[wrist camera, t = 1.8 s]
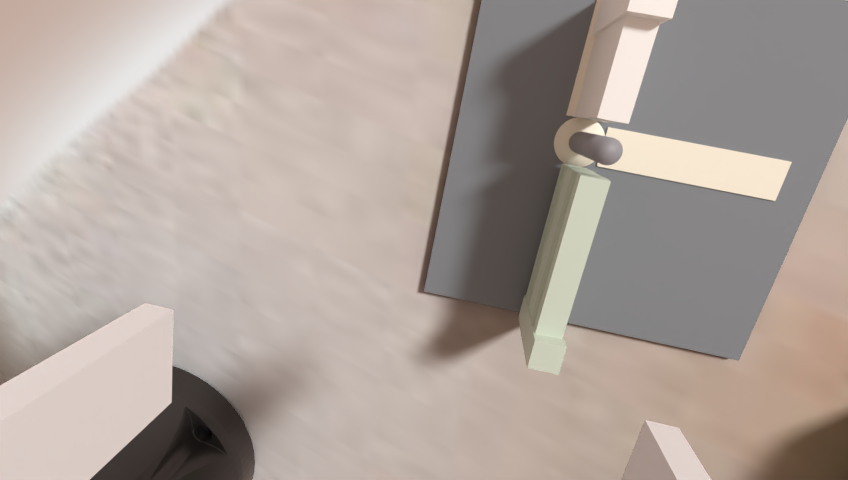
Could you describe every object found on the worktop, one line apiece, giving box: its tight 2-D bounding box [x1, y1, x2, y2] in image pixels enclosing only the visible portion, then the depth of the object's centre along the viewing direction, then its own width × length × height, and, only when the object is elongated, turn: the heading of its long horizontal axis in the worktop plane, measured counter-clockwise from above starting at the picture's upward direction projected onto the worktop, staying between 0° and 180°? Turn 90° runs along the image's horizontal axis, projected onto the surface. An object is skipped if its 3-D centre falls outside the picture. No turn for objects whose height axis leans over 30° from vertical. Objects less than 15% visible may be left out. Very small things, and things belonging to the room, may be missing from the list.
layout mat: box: [424, 0, 848, 360], centre depth 26 cm, size 20×20×1 cm
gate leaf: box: [518, 163, 611, 375], centre depth 24 cm, size 10×2×6 cm, turn 170°
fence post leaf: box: [569, 0, 678, 165], centre depth 22 cm, size 2×8×7 cm, turn 169°
